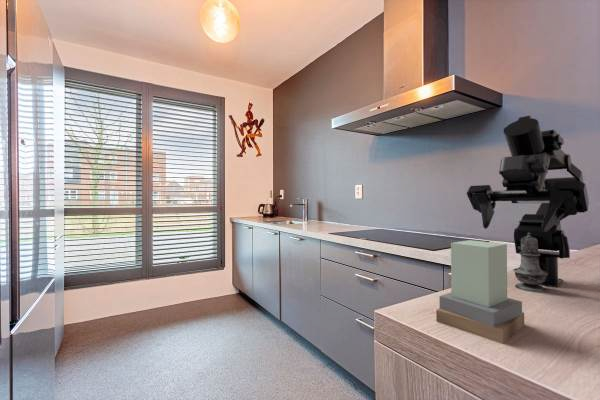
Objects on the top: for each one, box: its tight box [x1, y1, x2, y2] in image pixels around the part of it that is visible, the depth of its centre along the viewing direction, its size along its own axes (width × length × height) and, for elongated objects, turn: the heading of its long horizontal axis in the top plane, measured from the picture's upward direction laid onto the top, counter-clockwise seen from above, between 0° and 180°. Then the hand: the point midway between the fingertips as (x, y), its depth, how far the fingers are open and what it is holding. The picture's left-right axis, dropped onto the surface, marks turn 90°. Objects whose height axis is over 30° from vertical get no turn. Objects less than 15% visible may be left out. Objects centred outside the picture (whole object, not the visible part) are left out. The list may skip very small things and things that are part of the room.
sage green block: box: [450, 239, 508, 307], centre depth 44 cm, size 6×6×8 cm
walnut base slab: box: [435, 307, 525, 345], centre depth 44 cm, size 9×9×2 cm
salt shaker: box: [512, 232, 548, 293], centre depth 61 cm, size 6×6×12 cm
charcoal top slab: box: [438, 292, 523, 327], centre depth 44 cm, size 8×8×2 cm
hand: (512, 228), depth 54 cm, fingers open, 9 cm apart
